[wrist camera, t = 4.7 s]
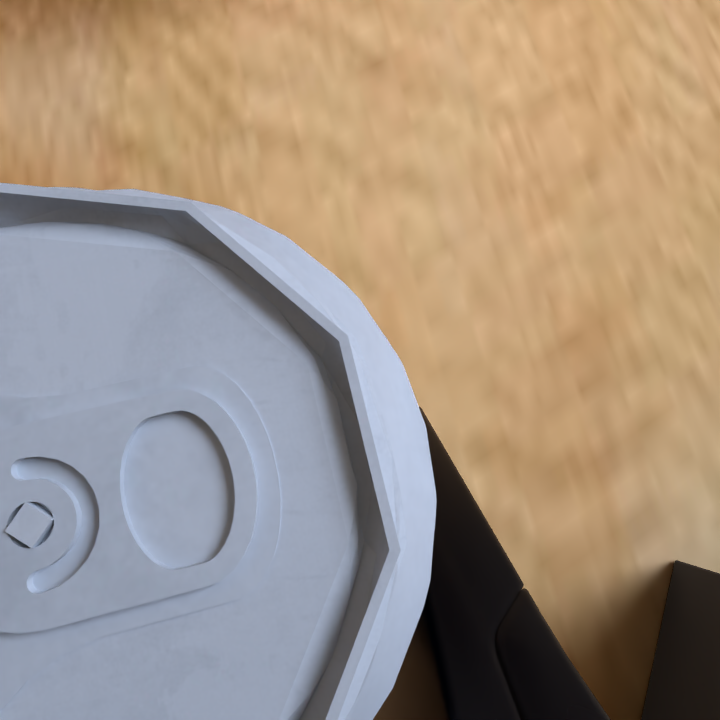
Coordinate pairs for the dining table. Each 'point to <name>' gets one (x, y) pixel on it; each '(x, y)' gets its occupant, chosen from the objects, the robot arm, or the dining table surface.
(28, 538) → the beer can
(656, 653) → the container
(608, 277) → the dining table surface
